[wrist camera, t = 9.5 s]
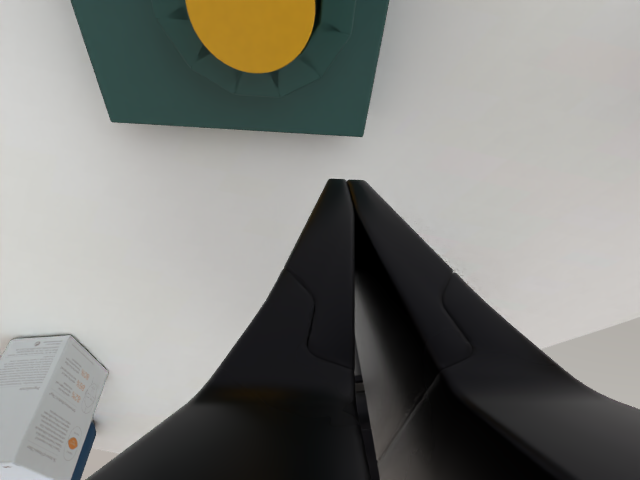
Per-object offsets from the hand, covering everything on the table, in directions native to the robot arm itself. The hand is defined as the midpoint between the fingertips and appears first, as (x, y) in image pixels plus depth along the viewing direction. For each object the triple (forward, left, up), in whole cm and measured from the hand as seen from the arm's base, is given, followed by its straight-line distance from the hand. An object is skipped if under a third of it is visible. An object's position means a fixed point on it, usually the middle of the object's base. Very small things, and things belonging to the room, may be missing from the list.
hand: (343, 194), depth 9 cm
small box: (-31, +23, -12) cm, 40 cm away
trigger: (+2, +3, -8) cm, 9 cm away
